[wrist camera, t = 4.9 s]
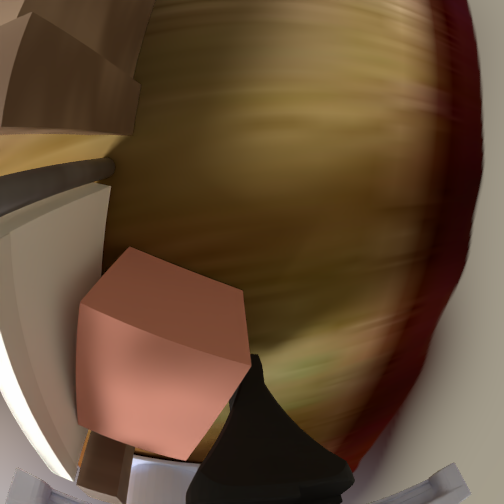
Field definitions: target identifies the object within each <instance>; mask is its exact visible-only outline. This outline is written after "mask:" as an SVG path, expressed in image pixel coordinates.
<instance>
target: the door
mask: <svg viewBox="0 0 504 504" xmlns="http://www.w3.org/2000/svg"><path fill="white" fill-rule="evenodd" d="M110 191H111V186H108V185H103V184H99V183H94V182H92V183H89V184H85V185H82V186H79V187H76V188H73V189H70V190H67V191H64V192H62V193H59V194H56V195H53V196H51V197H48V198H45V199H43V200H40V201H37V202H35V203H32V204H30V205H27V206H25V207H22V208H20V209H18V210H15V211H13V212H11V213H8V214H6V215H4V216H2V217H0V391H1V393H2V395H3V397H4V399H5V401H6V403H7V405H8V407H9V409H10V410H11V412H12V414H13V416H14V417H15V419H16V421H17V422H18V424H19V426H20V427H21V429H22V431H23V432H24V434H25V435H26V437H27V438H28V440H29V441H30V443H31V444H32V446H33V447H34V449H35V450H36V451H37V453H38V454H39V456H40V457H41V458H42V460H43V461H44V462H45V464H46V465H47V466H48V467H49V469H50V470H51V471H52V472H53V473H54V474H57V475H59V476H61V477H63V478H66V479H68V480H70V481H73V482H74V481H75V476H76V473H77V465H78V461H79V458H80V454H81V451H82V448H83V444H84V441H85V438H86V435H87V432H88V429H87V428H85V427H83V426H80V425H78V418H77V403H76V342H77V326H78V315H79V305H80V302H81V300H82V299H83V298H84V297H85V296H86V294H87V293H88V292H89V291H90V290H91V288H92V287H93V286H94V285H95V284H96V283H97V282H98V280H99V279H100V278H101V271H102V256H103V244H104V234H105V225H106V217H107V210H108V203H109V197H110Z"/></svg>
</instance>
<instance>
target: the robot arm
mask: <svg viewBox="0 0 504 504" xmlns="http://www.w3.org/2000/svg"><path fill="white" fill-rule="evenodd" d="M250 358H251V367H250V369H249V370H248V372H247V374H246V375H245V377H244V378H243V380H242V381H241V383H240V384H239V386H238V387H237V389H236V390H235V392H234V393H233V395H232V396H231V398H230V399H229V406H230V414H229V416H228V418H227V421H226V423H225V425H224V427H223V429H222V431H221V433H220V435H219V437H218V438H217V440H216V442H215V444H214V445H213V447H212V449H211V450H210V452H209V453H208V455H207V456H206V458H205V459H204V461H203V462H202V463H201V464H196V463H185V462H176V461H168V460H161V459H155V458H149V457H143V456H138V455H133V461H132V467H131V473H130V480H129V487H128V494H127V501H126V504H340V503H341V502H342V498H341V494H342V493H343V492H345V491H346V490H347V489H349V488H350V487H351V486H352V485H353V483H354V481H355V479H354V477H353V474H352V471H351V469H350V467H349V465H348V464H347V462H346V461H345V460H343V459H342V458H340V457H338V456H337V455H335V454H333V453H332V452H330V451H328V450H327V449H325V448H324V447H323V446H321V445H320V444H319V443H317V442H316V441H315V440H313V439H312V438H311V437H310V436H309V435H308V434H306V433H305V432H304V431H303V430H302V429H301V428H300V427H299V426H298V425H297V424H296V423H295V422H294V421H293V420H292V419H291V418H290V417H289V416H288V415H287V414H286V413H285V411H284V410H283V409H282V408H281V406H280V405H279V404H278V403H277V401H276V400H275V398H274V397H273V396H272V394H271V393H270V391H269V390H268V388H267V387H266V385H265V383H264V377H263V369H262V364H261V361H260V358H259V356H258V354H250ZM470 495H471V492H470V490H469V488H468V486H467V484H466V483H465V481H464V479H463V477H462V475H461V473H460V472H459V470H458V468H457V466H456V465H455V463H452V464H450V465H448V466H446V467H444V468H442V469H441V470H439V471H437V472H436V473H435V474H433V475H432V476H431V477H429V479H427V480H425V481H423V482H421V483H419V484H417V485H415V486H412V487H410V488H408V489H406V490H403V491H401V492H399V493H396V494H393V495H391V496H388V497H385V498H383V499H380V500H377V501H374V502H371V503H368V504H459V503H461V502H462V501H463V500H465V499H466V498H468V497H469V496H470ZM5 504H92V503H88V502H85V501H82V500H80V499H77V498H74V497H72V496H69V495H67V494H64V493H62V492H60V491H57V490H55V489H53V488H51V487H50V486H49V485H48V484H47V483H46V482H44V481H43V480H41V479H39V478H37V477H35V476H33V475H31V474H30V473H28V472H26V471H24V470H22V469H20V468H16V471H15V473H14V476H13V480H12V482H11V486H10V489H9V492H8V496H7V500H6V503H5Z"/></svg>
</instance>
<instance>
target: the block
mask: <svg viewBox="0 0 504 504" xmlns="http://www.w3.org/2000/svg"><path fill="white" fill-rule="evenodd" d="M250 367H251V358H250V350H249V341H248V333H247V324H246V315H245V307H244V298H243V290H240V289H237V288H234V287H232V286H229V285H226V284H224V283H221V282H218V281H216V280H213V279H210V278H208V277H205V276H202V275H200V274H197V273H195V272H192V271H189V270H187V269H184V268H182V267H179V266H177V265H174V264H172V263H169V262H167V261H164V260H162V259H159V258H157V257H154V256H152V255H149V254H147V253H145V252H142V251H140V250H137V249H135V248H132V247H130V246H129V248H128V249H127V250H126V251H125V252H124V253H123V254H122V255H121V256H120V257H119V258H118V259H117V260H116V261H115V263H114V264H113V265H112V266H111V267H110V268H109V269H108V270H107V271H106V272H105V274H104V275H103V276H102V277H101V278H100V279H99V280H98V282H97V283H96V284H95V285H94V286H93V287H92V288H91V290H90V291H89V292H88V293H87V294H86V296H85V297H84V298H83V299H82V300H81V302H80V305H79V315H78V326H77V342H76V403H77V418H78V425H80V426H83V427H85V428H87V429H89V430H92V431H94V432H96V433H99V434H101V435H104V436H106V437H109V438H111V439H114V440H116V441H119V442H122V443H125V444H128V445H131V446H134V447H137V448H140V449H143V450H146V451H149V452H153V453H156V454H160V455H164V456H168V457H171V458H176V459H180V460H184V461H186V460H187V458H188V457H189V456H190V454H191V453H192V452H193V450H194V449H195V448H196V446H197V445H198V444H199V442H200V441H201V440H202V438H203V437H204V435H205V434H206V433H207V431H208V430H209V428H210V427H211V425H212V424H213V423H214V421H215V420H216V418H217V417H218V415H219V414H220V413H221V411H222V410H223V408H224V407H225V405H226V404H227V402H228V401H229V399H230V398H231V396H232V395H233V393H234V392H235V390H236V389H237V387H238V386H239V384H240V383H241V381H242V380H243V378H244V377H245V375H246V374H247V372H248V370H249V369H250Z"/></svg>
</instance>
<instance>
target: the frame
mask: <svg viewBox="0 0 504 504" xmlns="http://www.w3.org/2000/svg"><path fill="white" fill-rule="evenodd" d="M155 1H156V0H0V135H10V134H79V135H133V130H134V124H135V117H136V111H137V105H138V100H139V95H140V89H141V84H139V83H138V82H137V81H135V80H134V79H133V77H134V72H135V68H136V64H137V60H138V56H139V52H140V48H141V45H142V41H143V38H144V34H145V31H146V28H147V25H148V21H149V18H150V15H151V12H152V10H153V7H154V4H155ZM114 171H115V164H114V162H113V160H112V159H110V158H99V159H91V160H83V161H76V162H70V163H63V164H57V165H52V166H46V167H41V168H36V169H31V170H26V171H22V172H17V173H13V174H9V175H4V176H0V217H2V216H4V215H6V214H8V213H11V212H13V211H15V210H18V209H20V208H22V207H25V206H27V205H30V204H32V203H35V202H37V201H40V200H43V199H45V198H48V197H51V196H53V195H56V194H59V193H62V192H64V191H67V190H70V189H73V188H76V187H79V186H82V185H85V184H89V183H92V182H95V181H98V180H102V179H105V178H108V177H110V176H112V174H113V173H114ZM134 450H135V447H134V446H131V445H128V444H125V443H122V442H119V441H116V440H114V439H111V438H109V437H106V436H104V435H101V434H99V433H96V432H94V431H92V430H91V433H90V437H89V440H88V443H87V447H86V450H85V453H84V457H83V461H82V464H81V468H80V472H79V476H78V480H77V484H76V485H77V486H78V487H79V488H80V489H81V490H82V491H83V492H85V493H86V494H87V495H88V496H89V497H92V498H95V499H98V500H101V501H105V502H108V503H112V504H126V501H127V494H128V487H129V480H130V473H131V467H132V461H133V455H134Z"/></svg>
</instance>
